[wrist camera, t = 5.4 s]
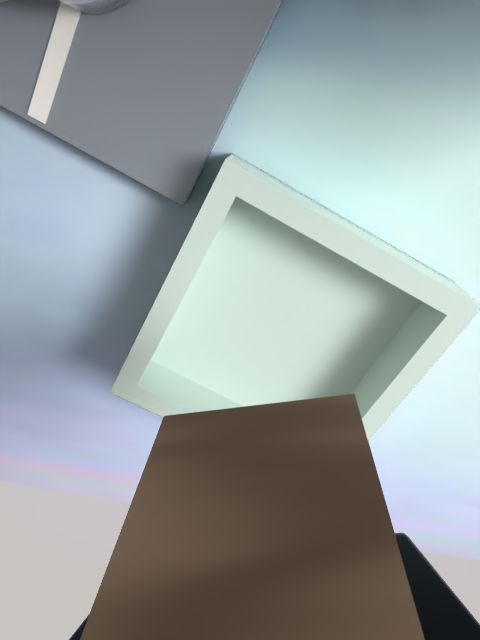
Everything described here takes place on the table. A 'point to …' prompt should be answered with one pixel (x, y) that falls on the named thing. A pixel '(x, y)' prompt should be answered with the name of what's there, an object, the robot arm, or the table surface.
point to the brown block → (258, 533)
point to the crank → (94, 5)
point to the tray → (288, 309)
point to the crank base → (133, 78)
